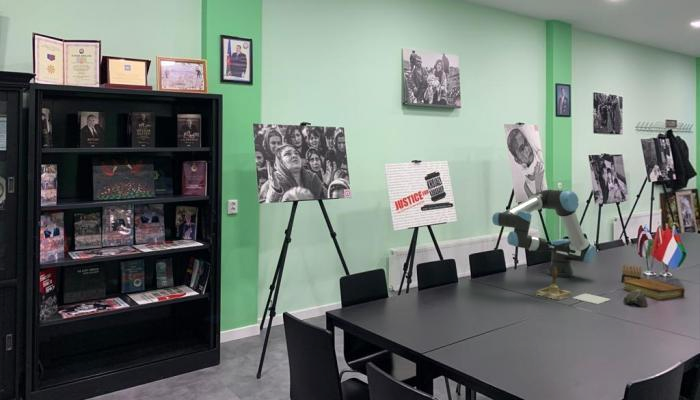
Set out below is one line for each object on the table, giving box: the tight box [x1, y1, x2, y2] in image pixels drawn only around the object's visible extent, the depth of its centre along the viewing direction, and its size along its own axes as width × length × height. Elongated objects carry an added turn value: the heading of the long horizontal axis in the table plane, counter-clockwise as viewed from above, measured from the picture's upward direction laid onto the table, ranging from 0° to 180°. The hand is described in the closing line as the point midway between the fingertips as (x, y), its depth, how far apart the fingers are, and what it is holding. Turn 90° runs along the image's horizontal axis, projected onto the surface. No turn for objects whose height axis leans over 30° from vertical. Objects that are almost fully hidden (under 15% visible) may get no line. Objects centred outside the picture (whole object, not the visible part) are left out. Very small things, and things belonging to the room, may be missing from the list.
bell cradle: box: [535, 286, 573, 301], centre depth 278 cm, size 13×13×2 cm
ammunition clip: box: [620, 262, 642, 284], centre depth 305 cm, size 11×2×12 cm, turn 45°
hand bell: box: [547, 267, 560, 295], centre depth 277 cm, size 8×8×16 cm
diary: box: [622, 278, 686, 301], centre depth 284 cm, size 23×19×6 cm
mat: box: [572, 293, 612, 305], centre depth 271 cm, size 14×14×1 cm
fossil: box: [623, 289, 648, 308], centre depth 263 cm, size 11×9×10 cm
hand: (574, 253), depth 275 cm, fingers open, 13 cm apart
